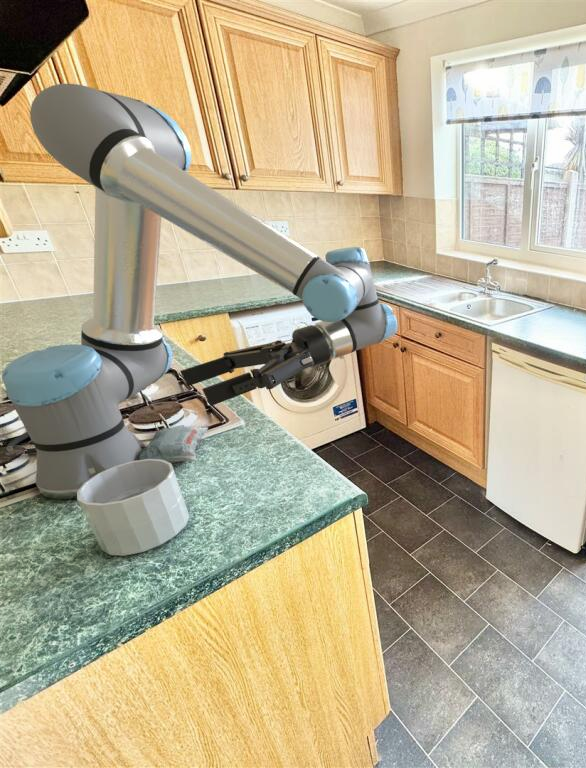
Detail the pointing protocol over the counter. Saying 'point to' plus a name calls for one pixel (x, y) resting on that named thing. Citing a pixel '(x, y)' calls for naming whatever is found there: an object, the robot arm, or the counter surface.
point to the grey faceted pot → (134, 506)
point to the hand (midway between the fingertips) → (194, 387)
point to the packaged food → (174, 444)
